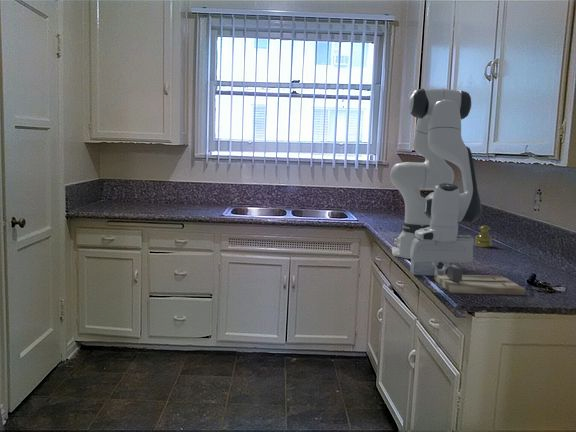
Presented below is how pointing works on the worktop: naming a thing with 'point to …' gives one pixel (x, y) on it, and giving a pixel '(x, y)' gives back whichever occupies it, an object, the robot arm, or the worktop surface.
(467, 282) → the console
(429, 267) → the medicine box
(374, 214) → the worktop surface
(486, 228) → the yellow lumpy upright piece
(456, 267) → the fader knob
